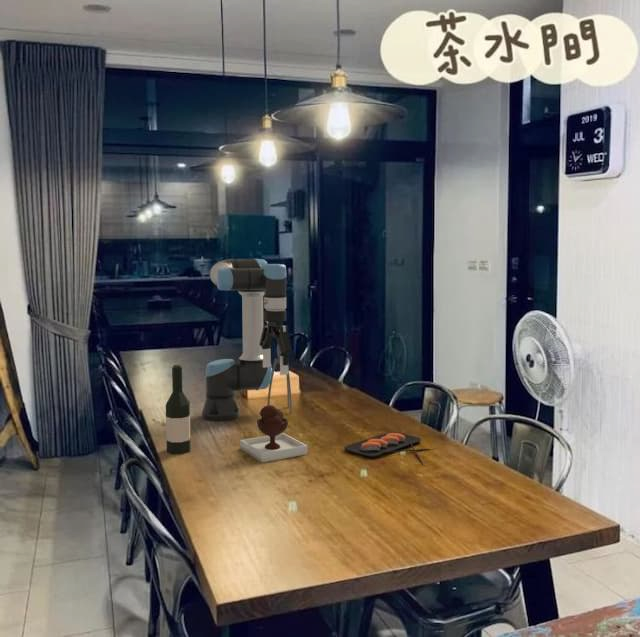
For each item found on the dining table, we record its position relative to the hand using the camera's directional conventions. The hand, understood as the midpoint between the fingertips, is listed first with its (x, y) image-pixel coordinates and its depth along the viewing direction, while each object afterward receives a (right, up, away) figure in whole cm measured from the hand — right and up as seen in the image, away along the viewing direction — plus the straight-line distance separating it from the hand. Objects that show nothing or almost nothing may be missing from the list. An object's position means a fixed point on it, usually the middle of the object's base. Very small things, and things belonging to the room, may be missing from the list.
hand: (275, 370), depth 233 cm
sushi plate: (+43, -29, +1) cm, 52 cm away
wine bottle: (-33, -28, 0) cm, 44 cm away
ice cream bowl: (-1, -27, +1) cm, 27 cm away
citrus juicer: (0, -21, +57) cm, 61 cm away
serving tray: (-1, -28, 0) cm, 28 cm away
